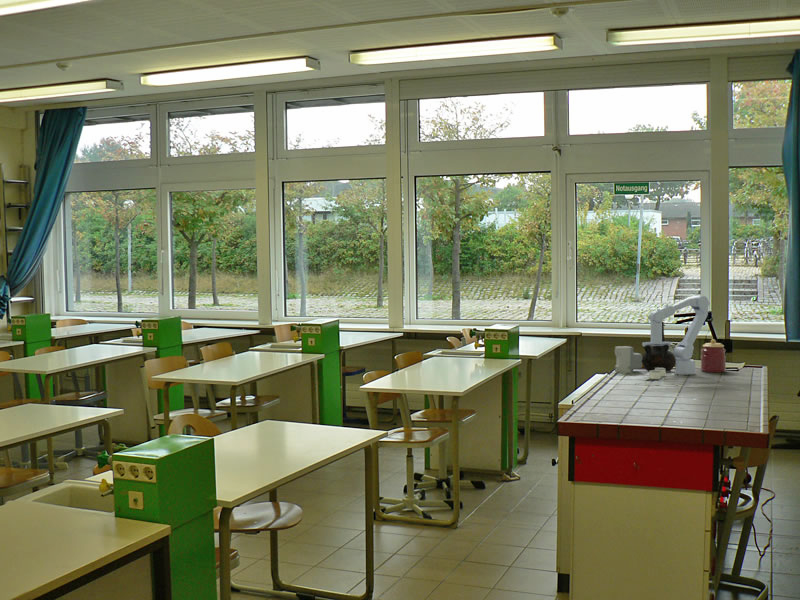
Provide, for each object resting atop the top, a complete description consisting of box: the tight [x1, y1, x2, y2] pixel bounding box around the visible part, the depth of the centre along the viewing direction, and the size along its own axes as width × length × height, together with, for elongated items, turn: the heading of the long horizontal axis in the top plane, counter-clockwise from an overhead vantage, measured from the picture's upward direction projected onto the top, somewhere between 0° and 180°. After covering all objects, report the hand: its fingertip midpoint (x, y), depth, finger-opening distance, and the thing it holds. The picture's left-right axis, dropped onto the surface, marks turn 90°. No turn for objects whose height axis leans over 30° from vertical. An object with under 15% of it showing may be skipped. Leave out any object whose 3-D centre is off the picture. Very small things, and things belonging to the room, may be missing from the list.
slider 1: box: [649, 370, 661, 380], centre depth 414 cm, size 4×4×4 cm
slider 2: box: [655, 368, 667, 377], centre depth 423 cm, size 4×4×4 cm
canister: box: [700, 338, 727, 373], centre depth 449 cm, size 13×13×18 cm
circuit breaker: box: [614, 345, 644, 374], centre depth 441 cm, size 8×14×15 cm, turn 89°
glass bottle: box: [642, 321, 676, 372], centre depth 449 cm, size 18×18×28 cm
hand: (656, 359), depth 428 cm, fingers open, 7 cm apart
